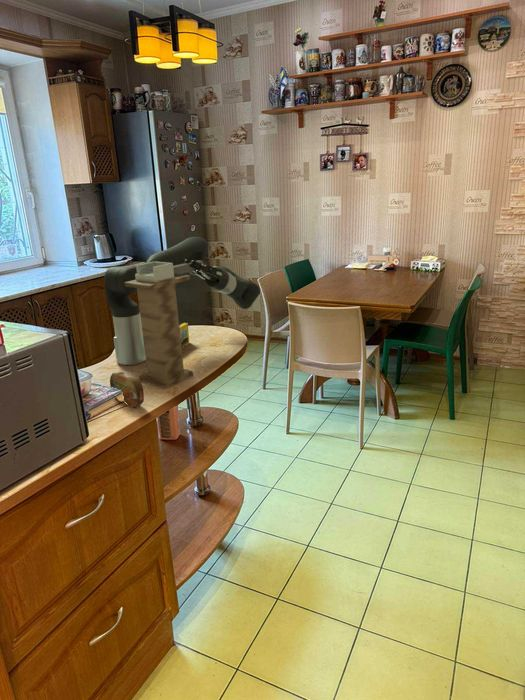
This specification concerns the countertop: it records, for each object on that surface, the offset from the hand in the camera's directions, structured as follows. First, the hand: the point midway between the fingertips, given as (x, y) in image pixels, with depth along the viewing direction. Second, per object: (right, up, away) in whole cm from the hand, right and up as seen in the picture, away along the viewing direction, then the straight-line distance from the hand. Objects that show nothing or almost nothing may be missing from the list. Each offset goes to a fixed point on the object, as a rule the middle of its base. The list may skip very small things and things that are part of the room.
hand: (188, 262), depth 157 cm
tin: (-15, -43, -15) cm, 48 cm away
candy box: (-8, -28, +27) cm, 40 cm away
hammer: (-4, -4, -4) cm, 7 cm away
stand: (-7, -37, +1) cm, 38 cm away
